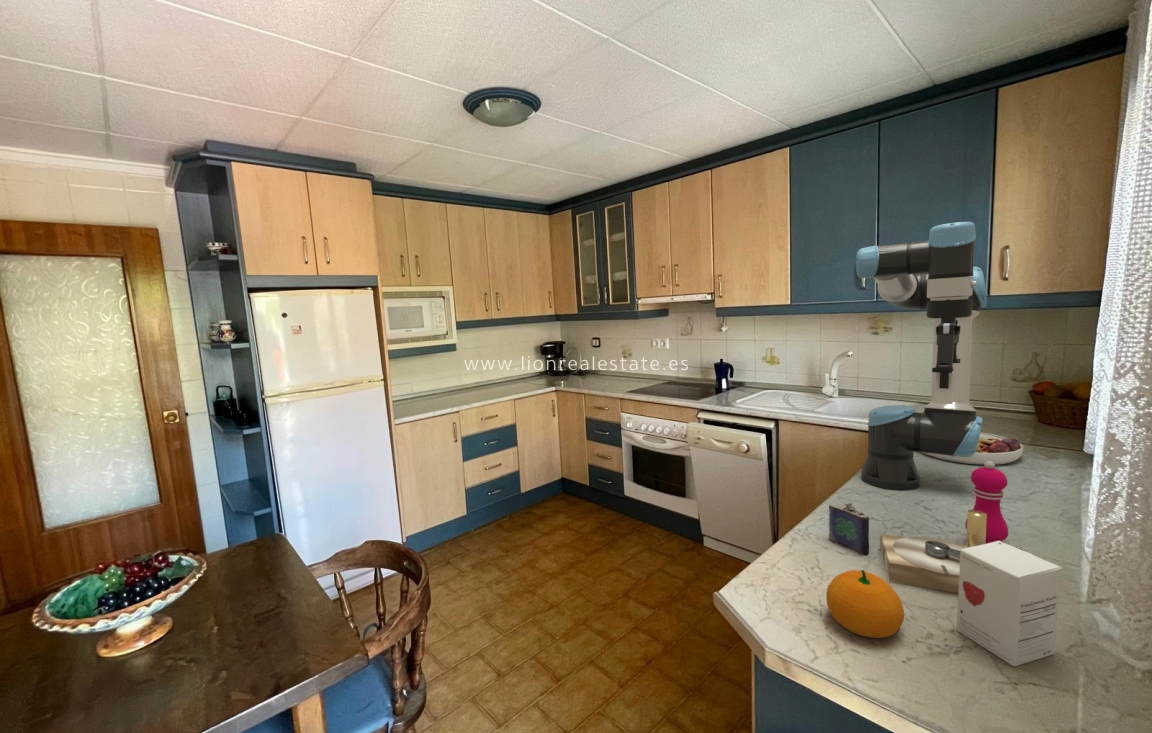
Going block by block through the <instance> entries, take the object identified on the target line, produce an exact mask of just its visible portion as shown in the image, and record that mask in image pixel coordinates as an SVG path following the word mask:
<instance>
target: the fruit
mask: <svg viewBox="0 0 1152 733" xmlns="http://www.w3.org/2000/svg"><path fill="white" fill-rule="evenodd" d="M826 606H827V608H828V610H829V612H830V613H831V616H832V617H833V618H834V620H835V621H836V622H837V623H838V624H840V625H841V626H842V627H843V628H845V629H847V631H850V632H852V633H853V634H857V635H860V636H862V637H867V638H873V639H874V638H875V639H881V638H882V639H883V638H888V637H891V636H893V635H894V634H896V633H897V632H899V631H900V629H901V626H902V624H903V623H904V621H905V620H904V619H905V610H904V607H903V603H902V599H901V598H900V596H899V595H898V593H897V592H896V591H895V589H894V588H893V587H892V586H891V585H890V584H889V583H888V582H887V581H886V580H884V579H883V578H881V576H878V575H877V574H874V573H872V572H867V571H865V570H864V569H861V570H855V569H853V570H846V571H844V572H841V573H839V574H838V575H836V576H835V577H834V578H833V579H831V581H830V583H829V584H828V585H827V588H826Z"/></svg>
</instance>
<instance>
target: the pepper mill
mask: <svg viewBox="0 0 1152 733" xmlns="http://www.w3.org/2000/svg"><path fill="white" fill-rule="evenodd" d="M995 467H996V465H995V464H994V463H993V462H991V461H986V462H985V463H984V465H983V466H981V467H978V468H975V469H974V470H973V471H972V473H971V474H970V481H971V483H972V484H973V485H974V486H973V491H972V493H973V495H975V502H974V506H973V507H972V510H978V511H982V512H984V513H986V514H987V520H986V541H985V544H988V543H992V542H996V541H1001V542H1003V543H1005V542H1004V541H1005V540H1006V539H1007V538H1008V537H1009V527H1008V525H1007V523H1006V521H1005V519H1004V516H1003V514H1002V511H1001V500H1002V499H1004V493H1005V492H1004V491H1003V490H1004V489H1006V487H1007V485H1008V478H1007V476H1006V474H1005V473H1004V472H1002V471H1001V470H999V469H997V468H995ZM964 527H965V529H966V530H967V519H966V520H965V526H964Z"/></svg>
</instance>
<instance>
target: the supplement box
mask: <svg viewBox="0 0 1152 733" xmlns="http://www.w3.org/2000/svg"><path fill="white" fill-rule="evenodd" d="M1003 542H1004V541H1003ZM1003 542H1001V541H996V542H992V543H988V544H983V545H979V546H973V547H968V548H964V549H961V550H960V572H959V593H957V594H958V595H957V597H958V598H957V614H956V615H957V616H956V631H958V632H960V633H961V634H962V635H964V636H966V637H967V638H969V639H970V640H971V641H973V642H974V643H976V644H978V645H980V646H981V647H983V648H984V649H985V650H987V651H989V652H990V653H992V654H993V655H995V656H996V657H998V658H1000V659H1001V660H1003V661H1004V662H1006V663H1007V664H1009V665H1010V666H1012V667H1017V666H1021V665H1024V664H1027V663H1031V662H1033V661H1037V660H1039V659H1042V658H1045V657H1049V656H1051V655H1052V656H1053V655H1055V653H1056V652H1055V651H1056V638H1057V636H1056V635H1057V628H1058V626H1057V625H1058V614H1059V604H1060V602H1059V600H1060V591H1061V589H1060V588H1061V578H1062V569H1063V567H1061V566H1060V565H1057V564H1054V563H1052V562H1050V561H1048V560H1046V559H1043V558H1041V557H1038V556H1036V555H1035V554H1032V553H1030V552H1028V551H1025V550H1022V549H1019V548H1017V547H1015V546H1013V545H1010V544H1008V543H1005V542H1004V543H1003Z"/></svg>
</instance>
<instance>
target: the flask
mask: <svg viewBox="0 0 1152 733" xmlns="http://www.w3.org/2000/svg"><path fill="white" fill-rule="evenodd" d="M843 504H844V505H841V504H838V503H830V504H829V505H828V510H829V511H828V512H829V513H828V518H829V519H828V520H829V522H828V528H829V529H828V539H829V541H830V542H832V543H833V544H837V545H839V546H841V547H843V548H844V549H849V551H853V552H854V553H857V554H859V555H861V556H866V557H867V556H869V554H870V517H869V516H868V514H867V513H864V512H863V511H861V510H858V509H857V508H856V507H855V506H853V504H854V501H848V502H844V503H843Z"/></svg>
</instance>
